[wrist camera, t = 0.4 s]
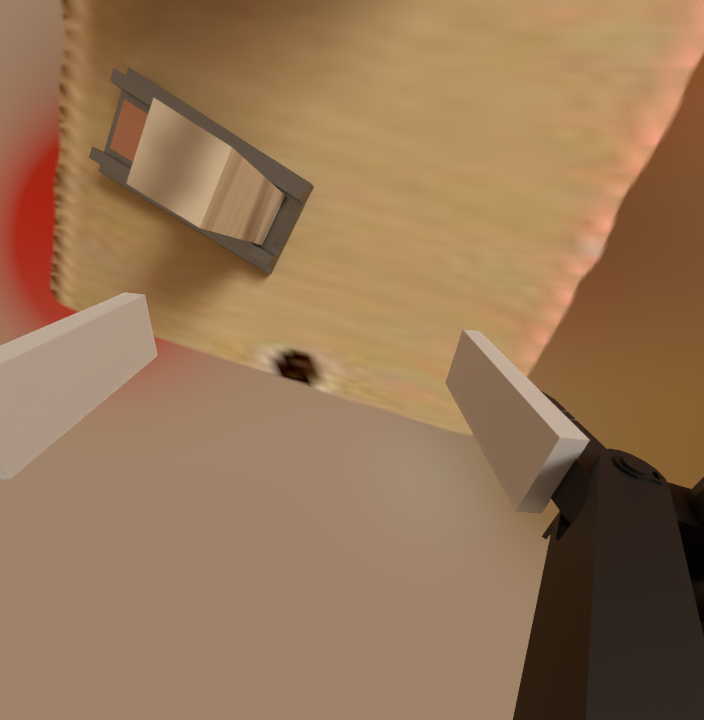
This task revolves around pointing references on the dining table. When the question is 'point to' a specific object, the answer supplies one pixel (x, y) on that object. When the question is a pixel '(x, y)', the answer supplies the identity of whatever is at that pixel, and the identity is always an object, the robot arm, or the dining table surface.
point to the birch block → (202, 178)
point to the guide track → (134, 117)
